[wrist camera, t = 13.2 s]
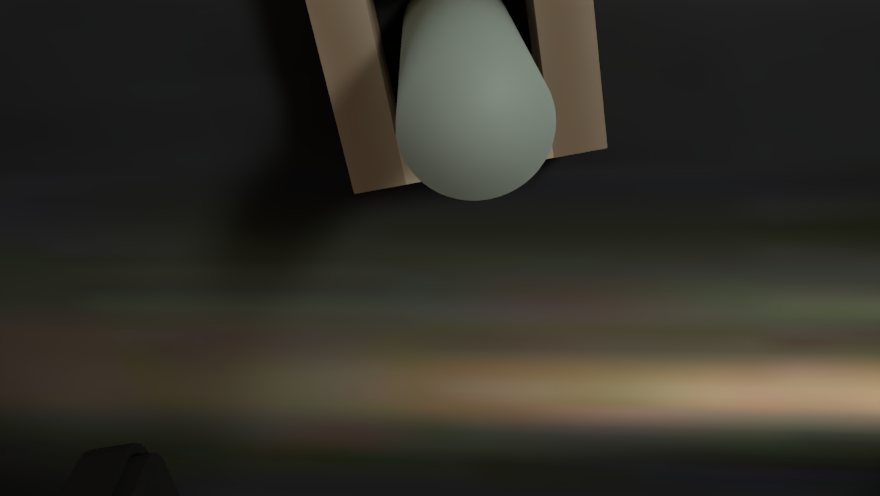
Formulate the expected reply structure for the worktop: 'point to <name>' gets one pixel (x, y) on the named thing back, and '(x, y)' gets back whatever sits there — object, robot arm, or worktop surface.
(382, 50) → the tan rectangular frame
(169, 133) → the worktop surface
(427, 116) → the dowel
